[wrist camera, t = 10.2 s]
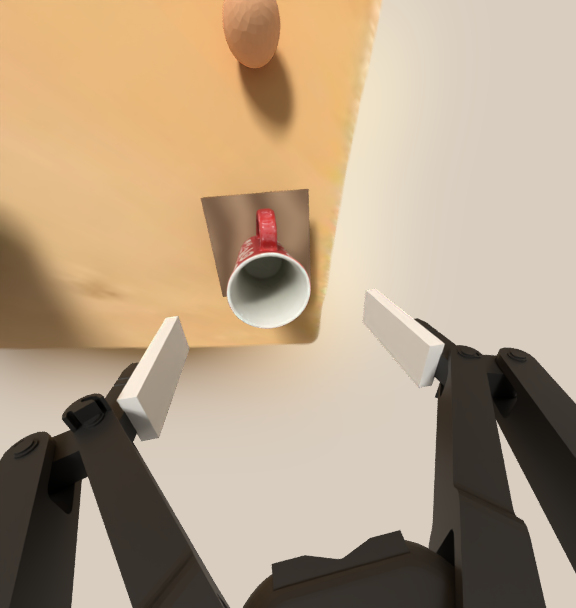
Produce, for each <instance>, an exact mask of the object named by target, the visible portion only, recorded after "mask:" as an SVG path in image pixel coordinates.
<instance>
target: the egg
mask: <svg viewBox="0 0 576 608" xmlns="http://www.w3.org/2000/svg"><path fill="white" fill-rule="evenodd" d="M223 29H224V33H225V37H226V41H227V43H228V45H229V48H230V50H231V52H232V53H233V55H234V56H235V58H236V59H237V60H238V61H239V62H240V63H242V64H243V65H244V66H246V67H249V68H260V67H262V66H264V65H266V64H267V63H268V62H269V61H270V60H271V59H272V57H273V55H274V53H275V51H276V49H277V46H278V41H279V35H280V16H279V10H278V5H277V2H276V0H224V4H223Z"/></svg>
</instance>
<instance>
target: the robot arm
mask: <svg viewBox="0 0 576 608" xmlns="http://www.w3.org/2000/svg"><path fill="white" fill-rule="evenodd" d="M363 323H364V324H365V325H366V327H367V328H368V329H369V330H370V331H371V333H372V334H373V335H374V336H375V337H376V338H377V340H378V341H379V342H380V343H381V344H382V345H383V347H384V348H385V349H386V350H387V351H388V352H389V354H390V355H391V356H392V357H393V358H394V360H395V361H396V362H397V363H398V364H399V365H400V366H401V368H402V369H403V370H404V371H405V372H406V374H407V375H408V376H409V377H410V378H411V379H412V380H413V382H414V383H415V384H416V385H417V386H418V387H419V388H420V387H425V386H431V385H432V383H433V380H434V377H436V378H437V379H438V380H439V381H440V384H439V387H438V390H437V393H436V396H435V397H436V398H438V408H437V409H438V410H437V432H436V433H437V434H436V458H435V481H434V506H433V525H432V531H431V536H430V542H429V549H428V548H426V547H424V546H422V545H420V544H417V543H414V542H411V541H407V540H404V538H403V536H402V534H401V531H400V530H399V531H395V532H392V533H388V534H384V535H380V536H376V537H372V538H370V539H368V540H367V541H366V542H364V543H363V544H362V545H360V546H359V547H358V548H356V549H355V550H353V551H352V552H351V553H350V554H348V555H347V556H345V557H344V558H342V559H332V558H323V557H314V556H306V555H305V556H300V557H297V558H293V559H289V560H285V561H282V562H278V563H274V564H272V575H270V576H269V577H268V578H266V579H265V580H264V581H263V582H262V583H261V584H260V585H259V586H258V587H257V588H256V589H255V591H254V592H253V593H252V594H251V596H250V597H249V599H248V600H247V602H246V603H245V605H244V606H243V608H546V605H545V601H544V597H543V592H542V588H541V583H540V579H539V574H538V570H537V566H536V561H535V557H534V552H533V548H532V543H531V539H530V535H529V532H528V529H527V526H526V524H525V523H524V521H523V520H521V519H520V518H518V517H516V515H515V513H514V510H513V506H512V501H511V496H510V491H509V485H508V480H507V475H506V470H505V465H504V459H503V454H502V449H501V444H500V439H499V434H498V428H497V423H496V420H497V422H498V424H499V426H500V428H501V430H502V432H503V434H504V436H505V438H506V440H507V442H508V444H509V445H510V447H511V449H512V451H513V453H514V455H515V457H516V459H517V461H518V463H519V465H520V467H521V469H522V471H523V472H524V474H525V476H526V478H527V480H528V482H529V484H530V486H531V488H532V490H533V492H534V494H535V495H536V497H537V499H538V501H539V503H540V505H541V507H542V509H543V511H544V513H545V515H546V517H547V519H548V521H549V523H550V524H551V526H552V528H553V530H554V532H555V534H556V536H557V538H558V540H559V541H560V543H561V546H562V548H563V549H564V551H565V553H566V555H567V557H568V559H569V561H570V563H571V565H572V567H573V569H574V571H575V573H576V404H575V403H574V401H573V400H572V399H571V398H570V397H569V396H568V395H567V394H566V393H565V392H564V390H563V389H562V388H561V387H560V386H559V385H558V384H557V383H556V381H554V379H553V378H552V377H551V376H550V375H549V374H548V373H547V372H546V370H545V369H544V368H543V367H542V366H541V365H540V364H539V363H538V362H537V360H536V359H535V358H533V357H532V356H531V355H530V354H528V353H526V352H524V351H522V350H519V349H514V348H502V349H500V350H499V352H498V354H497V356H494V355H482V354H481V353H480V352H479V351H477V350H475V349H473V348H471V347H467V346H462V345H455V344H454V343H453V342H451V341H450V340H449V339H447V338H446V337H445V336H443V335H442V334H441V333H439V332H438V331H437V330H436V329H434V328H432V327H431V326H430V325H429V324H428V323H426V322H424V321H422V320H420V319H413V318H412V317H410V316H409V315H408V314H407V313H405V312H404V311H403V310H402V309H400V308H399V307H398V306H397V305H395V304H394V303H393V302H391V301H390V300H389V299H388V298H386V297H385V296H384V295H383V294H382V293H380V292H379V291H378V290H376V289H371V290H366V293H365V303H364V314H363ZM188 351H189V346H188V343H187V340H186V337H185V335H184V332H183V329H182V326H181V323H180V320H179V317H178V316H175V317H167V318H166V319H165V320H164V322H163V324H162V325H161V327H160V329H159V330H158V332H157V334H156V335H155V337H154V339H153V340H152V342H151V344H150V345H149V347H148V349H147V350H146V352H145V354H144V355H143V357H142V359H141V361H140V362H138V363H132V364H131V365H129V366H128V367H127V368H126V369H125V370H124V371H123V372H122V374H121V375H120V377H119V378H118V380H117V381H116V383H115V384H114V387H112V389H111V390H110V392H109V393H108V395H107V396H106V398H104V396H102V395H101V394H91V395H87V396H85V397H83V398H80V399H79V400H77V401H76V402H74V403H72V404H71V405H70V406H69V407H68V408H67V409H66V410H65V412H64V413H63V415H62V420H63V421H64V422H65V424H66V425H67V426H68V427H69V428H70V430H69V431H67V432H64V433H62V434H60V435H57V436H54V437H51V436H50V435H49V434H48V433H46V432H37V433H34V434H31V435H29V436H27V437H25V438H23V439H21V440H20V441H18V442H17V443H16V444H14V445H13V446H12V447H11V448H10V449H9V450H7V452H5V454H4V455H3V457H2V458H1V460H0V608H71V603H72V591H73V579H74V578H73V577H74V567H75V553H76V543H77V530H78V519H79V507H80V494H81V482H82V479H84V478H86V477H88V478H89V480H90V484H91V487H92V489H93V493H94V496H95V498H96V501H97V504H98V507H99V510H100V513H101V516H102V519H103V522H104V525H105V528H106V530H107V534H108V537H109V539H110V542H111V545H112V548H113V551H114V554H115V557H116V560H117V563H118V566H119V569H120V572H121V575H122V578H123V580H124V584H125V586H126V589H127V592H128V595H129V598H130V601H131V604H132V607H133V608H230V607H229V605H228V604H227V602H226V601H225V599H224V597H223V595H222V594H221V592H220V591H219V589H218V587H217V586H216V584H215V582H214V581H213V579H212V577H211V576H210V574H209V572H208V570H207V569H206V567H205V565H204V564H203V562H202V560H201V558H200V557H199V555H198V553H197V551H196V550H195V548H194V546H193V544H192V543H191V541H190V539H189V538H188V536H187V534H186V532H185V531H184V529H183V527H182V526H181V524H180V522H179V520H178V519H177V517H176V516H175V513H174V512H173V510H172V508H171V507H170V505H169V503H168V501H167V500H166V498H165V496H164V495H163V493H162V491H161V490H160V488H159V486H158V484H157V482H156V481H155V479H154V477H153V476H152V474H151V472H150V470H149V469H148V467H147V465H146V464H145V462H144V460H143V458H142V457H141V455H140V453H139V451H138V450H137V448H136V446H135V445H134V443H133V441H134V438H135V436H136V434H137V435H138V436H139V438H140V439H141V441H145V440H150V439H155V438H159V436H160V433H161V430H162V427H163V424H164V421H165V418H166V415H167V413H168V410H169V407H170V404H171V401H172V398H173V395H174V392H175V389H176V386H177V383H178V380H179V378H180V375H181V372H182V369H183V366H184V363H185V360H186V357H187V354H188Z"/></svg>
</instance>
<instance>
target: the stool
mask: <svg viewBox="0 0 576 608" xmlns="http://www.w3.org/2000/svg"><path fill="white" fill-rule="evenodd" d="M201 201H202V205H203V210H204V214H205V219H206V223H207V228H208V232H209V237H210V241H211V245H212V250H213V254H214V259H215V263H216V268H217V272H218V277H219V281H220V285H221V290H222V294H223V297H226V296H227V284H228V281H229V278H230V276H231V274H232V272H233V271H234V267H235V265H236V261H237V258H238V254H239V251H240V249H241V247H242V245H243V244H244V242H245V241H246V240H248V239H249V238H251V237H253V236H256V212H257V210H259V209H265V208H269V209H272V210H273V211H274V213H275V217H276V226H277V241H278V242H279V243H280V244H281V245H282V246H283V247H284V249H285V250H286V251H287V252H288V253H289V254H290V255H291V257H292V258H294V259H295V260H297V261H298V262H299V263H300V264H301V265H302V266H303V267H304V268H305V270H306V272H307V273H308V276H309V279H310V283H311V272H310V233H309V195H308V189H300V190H288V191H276V192H264V193H252V194H240V195H228V196H216V197H204V198H201Z"/></svg>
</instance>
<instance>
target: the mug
mask: <svg viewBox="0 0 576 608" xmlns="http://www.w3.org/2000/svg"><path fill="white" fill-rule="evenodd" d="M310 294H311V283H310V279H309V276H308V273H307V272H306V270H305V268H304V267H303V266H302V265H301V264H300V263H299V262H298V261H297V260H295V259H294V258H292V257H291V255H290V254H289V253H288V252H287V251H286V250H285V249H284V247H283V246H282V245H281V244H280V243H279V242H278V241H277V226H276V217H275V213H274V211H273V210H272V209H269V208H265V209H259V210H257V212H256V236H253V237H251V238H249V239H248V240H246V241H245V242H244V244H243V245H242V247H241V249H240V251H239V254H238V258H237V261H236V265H235V267H234V271H233V272H232V274H231V276H230V278H229V281H228V284H227V300H228V303H229V306H230V308H231V309H232V311H233V313H234V314H235V315H236V316H237V317H238V318H239V319H240V320H242V321H243V322H245V323H247V324H249V325H251V326H254V327H258V328H265V329H267V328H276V327H281V326H284V325H286V324H288V323H290V322H292V321H293V320H295V319H296V318H297V317H298V316H299V315H300V314H301V313H302V312H303V311H304V309H305V308H306V306H307V304H308V301H309V298H310Z"/></svg>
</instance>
